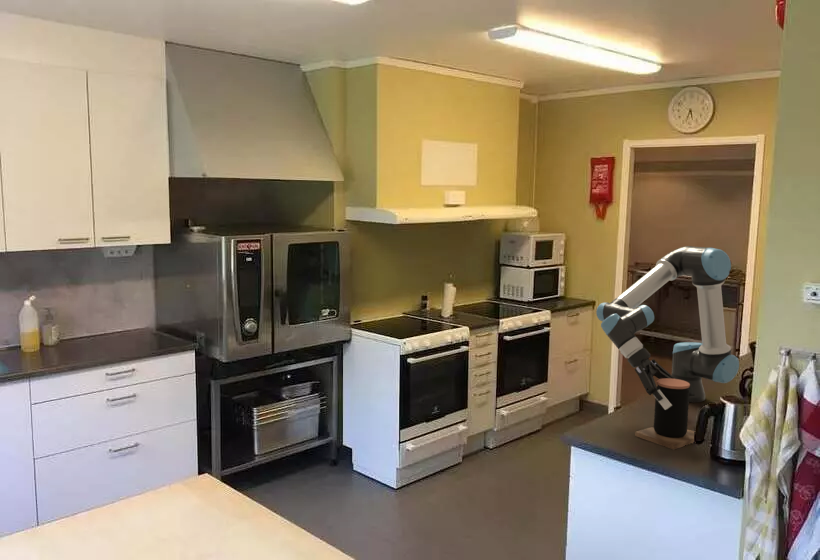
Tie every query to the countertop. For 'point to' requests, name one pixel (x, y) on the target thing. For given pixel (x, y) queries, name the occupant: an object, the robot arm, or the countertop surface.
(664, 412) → the coffee jar
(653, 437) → the walnut board
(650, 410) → the countertop surface
